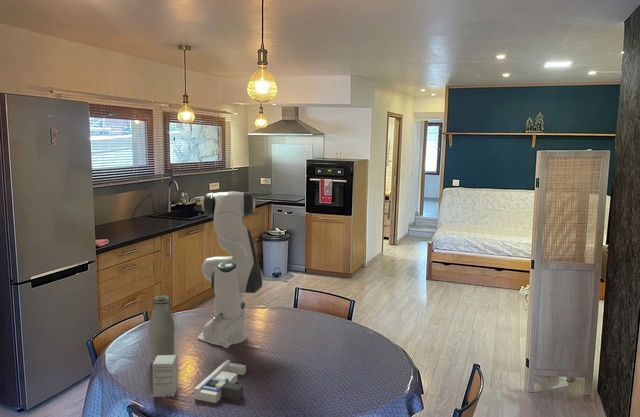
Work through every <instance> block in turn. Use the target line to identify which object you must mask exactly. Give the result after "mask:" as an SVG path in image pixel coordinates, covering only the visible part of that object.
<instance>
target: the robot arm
mask: <svg viewBox="0 0 640 417" xmlns="http://www.w3.org/2000/svg"><path fill="white" fill-rule="evenodd" d="M203 196H204V197H203V199H202V202H201V207H202V211H203V213H204V215H205V216H206V217H208V218H213V229H214V232H215V235H216V236H217V244H218V246H219V247H220V248H221V249H223V250H224V251H226V252H228V253H229V254H230V256H229V255H228V256H227V255H226V256H225V255H224V256H222V255H219V256H217V255H216V256H212V257H207V258H206V259H205V260H204V261H203V262H202V264H201V265H202V266H201V272H202V275H203V276H204V278H205V279H206V280H208V281H209V282H210V284H211V285H210V286H211V290H212V291H213V292H214V298H213V299H214V300H213V305H214V306H213V315H214V317H213V318H211V319H210V320H208V321H207V322H206V323H205V324H204V326H203V330H202V332H201V333H200V334H198V336H197V340H198V341H200V342H206V343H209V344H212V345H217V346H220V347H223V348H225V349H228V348H229V347H230V346H231V345H237V344H240V343H243V342H245V341H246V340H247V339H248V335H247V333H246V329H245V328H246V327H245V319H246V318H245V316H246V311H245V310H246V309H245V308H246V301H244V293H247V294H256V293H257V292H259V291H260V289H262V287H263V284H264V277H263V276H264V275H263V272H262V270H261V267H260V264H259V263H260V262H259V259H258V255H257V250H256V245H255V242H254V239H253V234H252V233H251V232H252V231H251V230H250V229H248V228H247V227H246V226H245V225H244V223H243V217H244V218H246V217H249V216H251V215H252V214H253V213H254V211H255V208H256V201H255V198H254V195H253V194H252V193H251V192H248V191H243V192H242V191H235V190H234V191H232V190H231V191H230V190H229V191H218V192H209V193H206V194H205V195H203Z"/></svg>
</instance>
